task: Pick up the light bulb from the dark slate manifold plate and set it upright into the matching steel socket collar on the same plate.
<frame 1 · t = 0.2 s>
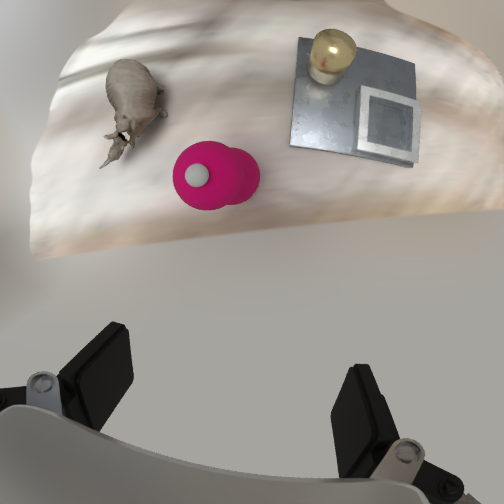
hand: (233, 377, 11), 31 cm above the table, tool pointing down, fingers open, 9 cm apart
pepper mill: (235, 176, 39), on the table
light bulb: (325, 69, 32), point 1 cm above the table, touching manifold plate
manifold plate: (356, 100, 34), on the table
rhinoceros figurine: (145, 114, 38), on the table
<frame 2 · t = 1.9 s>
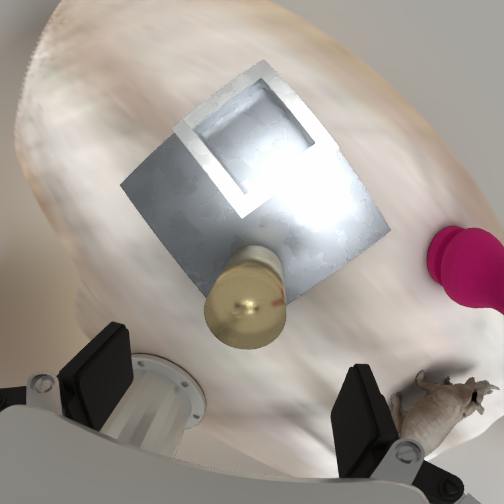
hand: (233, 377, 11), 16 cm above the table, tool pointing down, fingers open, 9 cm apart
pepper mill: (448, 254, 24), on the table
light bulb: (254, 273, 25), point 1 cm above the table, touching manifold plate
manifold plate: (253, 201, 25), on the table
rhinoceros figurine: (424, 388, 28), on the table
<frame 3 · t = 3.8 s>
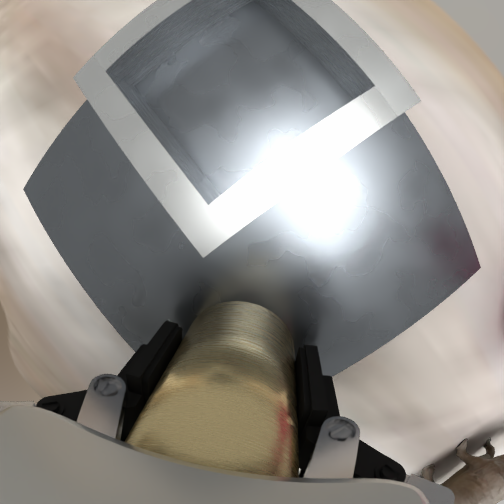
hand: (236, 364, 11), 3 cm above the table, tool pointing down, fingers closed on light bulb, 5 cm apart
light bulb: (239, 349, 13), point 1 cm above the table, touching gripper, manifold plate
manifold plate: (236, 211, 13), on the table
rhinoceros figurine: (462, 453, 17), on the table
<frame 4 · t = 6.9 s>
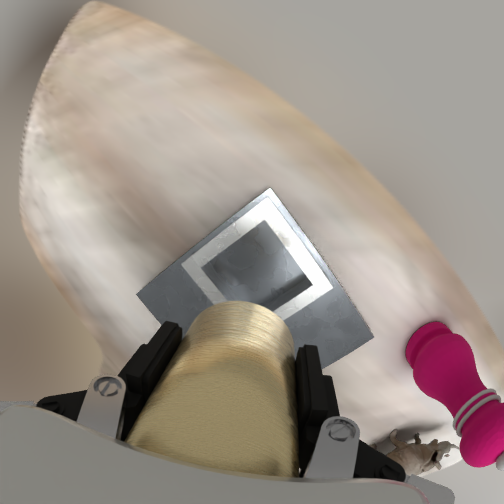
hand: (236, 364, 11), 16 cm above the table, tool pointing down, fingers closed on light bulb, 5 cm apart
pepper mill: (426, 343, 28), on the table
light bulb: (239, 349, 13), point 15 cm above the table, touching gripper
manifold plate: (256, 313, 28), on the table
rhinoceros figurine: (397, 440, 32), on the table
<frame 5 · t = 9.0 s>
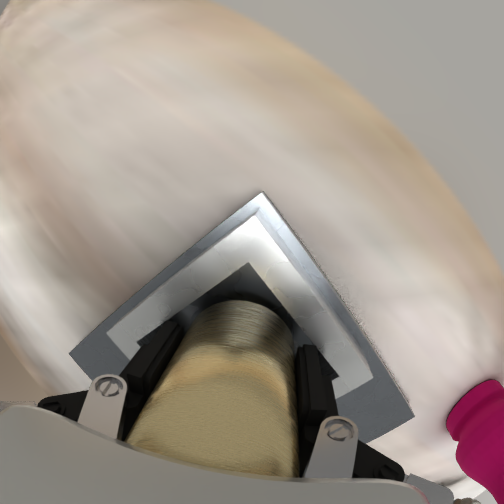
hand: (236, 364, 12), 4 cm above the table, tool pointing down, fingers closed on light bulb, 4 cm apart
pepper mill: (472, 404, 16), on the table
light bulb: (239, 348, 13), point 3 cm above the table, touching gripper
manifold plate: (241, 390, 17), on the table
rhinoceros figurine: (414, 497, 21), on the table
when the fingers open (4 cm above the table, at t = 10.2 s): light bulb drops 1 cm, resting on manifold plate.
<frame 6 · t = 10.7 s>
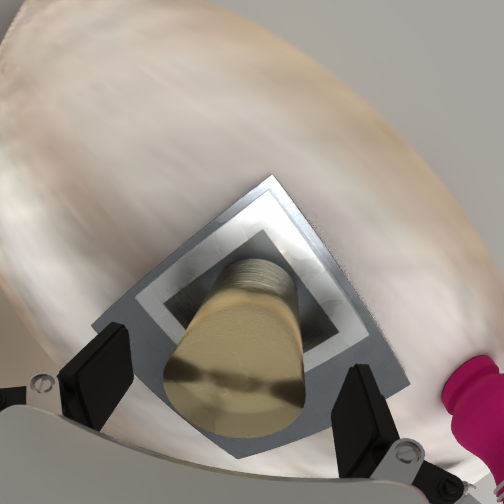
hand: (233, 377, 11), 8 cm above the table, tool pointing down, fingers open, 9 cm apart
pepper mill: (466, 380, 19), on the table
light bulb: (254, 299, 16), point 2 cm above the table, touching manifold plate
manifold plate: (251, 356, 19), on the table
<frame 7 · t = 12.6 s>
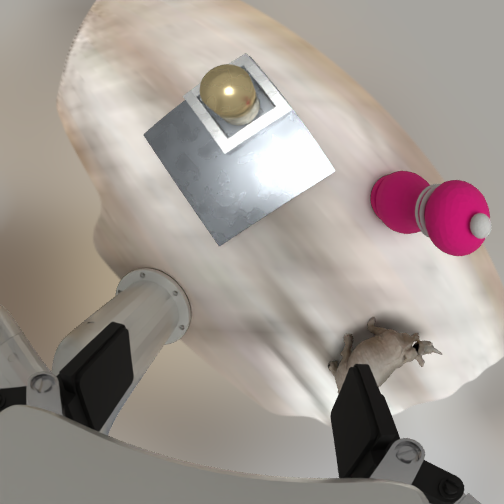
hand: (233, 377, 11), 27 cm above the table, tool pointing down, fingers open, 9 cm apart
pepper mill: (391, 198, 33), on the table
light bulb: (238, 106, 31), point 2 cm above the table, touching manifold plate
manifold plate: (235, 148, 34), on the table
rhinoceros figurine: (375, 338, 39), on the table
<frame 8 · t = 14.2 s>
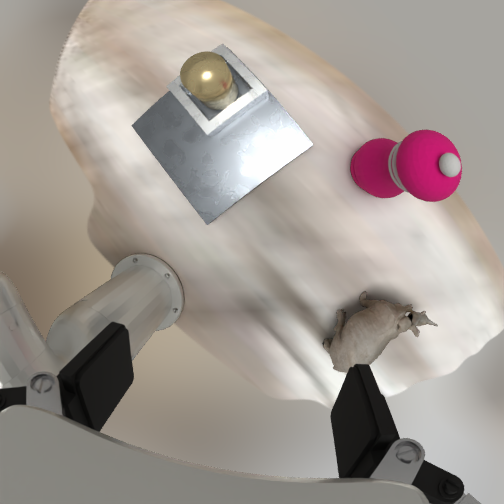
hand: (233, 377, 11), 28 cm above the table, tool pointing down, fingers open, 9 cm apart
pepper mill: (371, 169, 34), on the table
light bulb: (218, 92, 32), point 2 cm above the table, touching manifold plate
manifold plate: (218, 131, 35), on the table
rhinoceros figurine: (368, 313, 40), on the table
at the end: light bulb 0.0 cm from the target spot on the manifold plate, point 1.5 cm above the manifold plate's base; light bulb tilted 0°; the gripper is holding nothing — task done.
